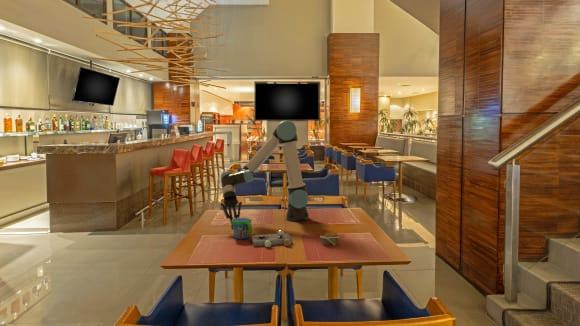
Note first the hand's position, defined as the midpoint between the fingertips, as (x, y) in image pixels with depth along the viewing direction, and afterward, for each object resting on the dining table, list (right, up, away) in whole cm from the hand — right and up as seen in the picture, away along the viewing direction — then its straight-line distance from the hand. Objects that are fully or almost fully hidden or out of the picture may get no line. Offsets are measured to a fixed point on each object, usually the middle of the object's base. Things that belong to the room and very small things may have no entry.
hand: (235, 227), depth 245 cm
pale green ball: (+20, -4, -26) cm, 33 cm away
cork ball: (+30, -4, -24) cm, 39 cm away
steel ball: (+26, -1, -15) cm, 30 cm away
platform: (+52, -6, -24) cm, 57 cm away
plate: (+21, -5, -16) cm, 27 cm away
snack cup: (+5, -5, -7) cm, 10 cm away
